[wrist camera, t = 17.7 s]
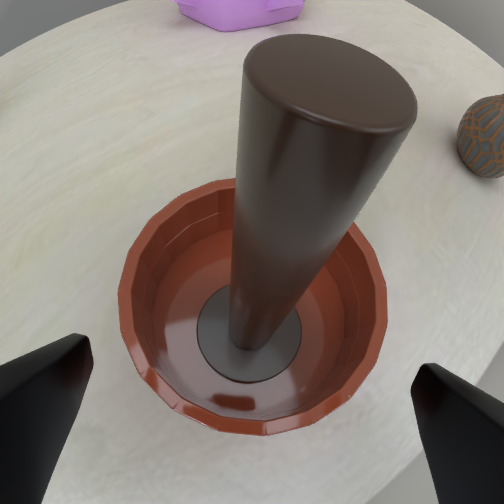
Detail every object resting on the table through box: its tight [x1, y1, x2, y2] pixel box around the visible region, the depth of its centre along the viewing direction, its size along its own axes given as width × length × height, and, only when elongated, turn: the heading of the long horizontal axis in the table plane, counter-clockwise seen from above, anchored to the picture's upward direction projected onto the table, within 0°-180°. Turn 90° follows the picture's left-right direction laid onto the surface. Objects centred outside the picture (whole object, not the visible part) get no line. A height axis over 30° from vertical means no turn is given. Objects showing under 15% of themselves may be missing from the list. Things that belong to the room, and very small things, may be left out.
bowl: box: [118, 178, 388, 436], centre depth 14 cm, size 11×11×4 cm
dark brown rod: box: [196, 34, 417, 384], centre depth 9 cm, size 5×5×14 cm
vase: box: [457, 94, 504, 178], centre depth 20 cm, size 7×7×9 cm
